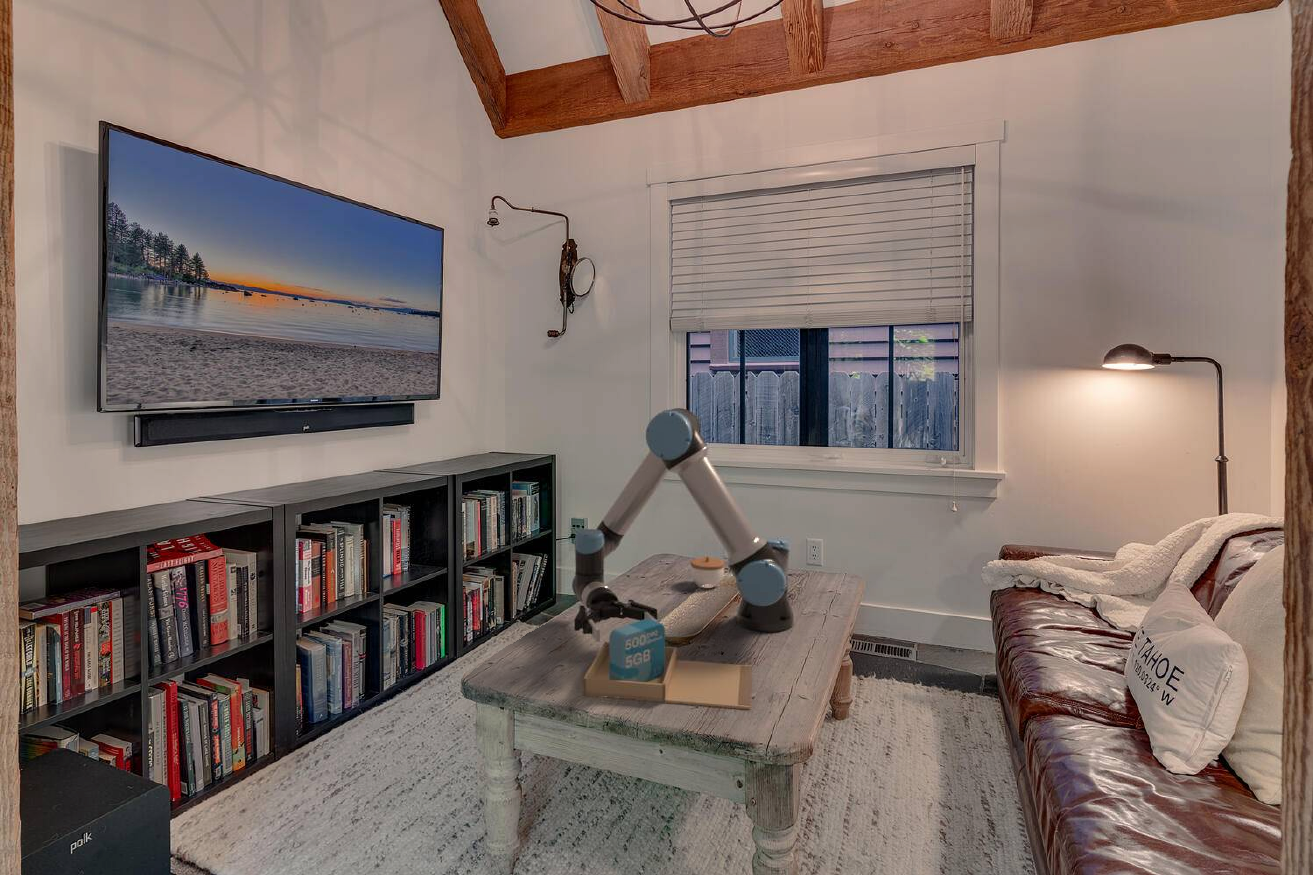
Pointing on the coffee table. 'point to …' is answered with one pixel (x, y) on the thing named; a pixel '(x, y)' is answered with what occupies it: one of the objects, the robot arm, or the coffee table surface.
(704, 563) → the lidded jar
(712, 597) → the coffee table surface
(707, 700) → the mailer box
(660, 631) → the data package
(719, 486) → the robot arm
